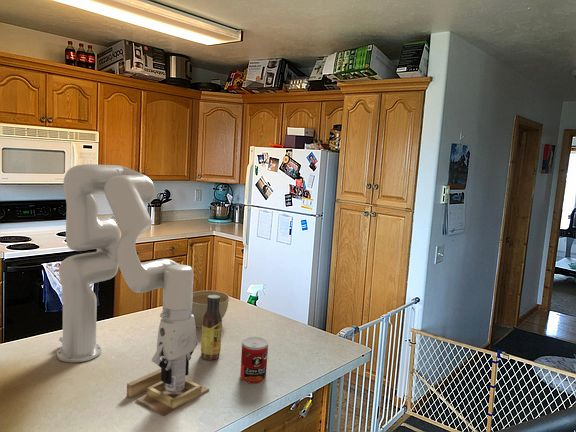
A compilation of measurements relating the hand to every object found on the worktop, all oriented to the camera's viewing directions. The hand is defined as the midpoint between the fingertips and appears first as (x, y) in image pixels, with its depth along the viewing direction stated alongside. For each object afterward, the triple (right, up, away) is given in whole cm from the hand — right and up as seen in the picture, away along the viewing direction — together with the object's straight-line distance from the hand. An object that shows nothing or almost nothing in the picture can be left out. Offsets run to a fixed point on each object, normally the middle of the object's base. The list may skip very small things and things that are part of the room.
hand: (174, 377), depth 120 cm
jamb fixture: (-2, -5, +2) cm, 6 cm away
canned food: (+20, -5, +14) cm, 25 cm away
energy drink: (0, -3, 0) cm, 3 cm away
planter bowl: (-1, +1, +52) cm, 52 cm away
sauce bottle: (+5, -3, +26) cm, 26 cm away
